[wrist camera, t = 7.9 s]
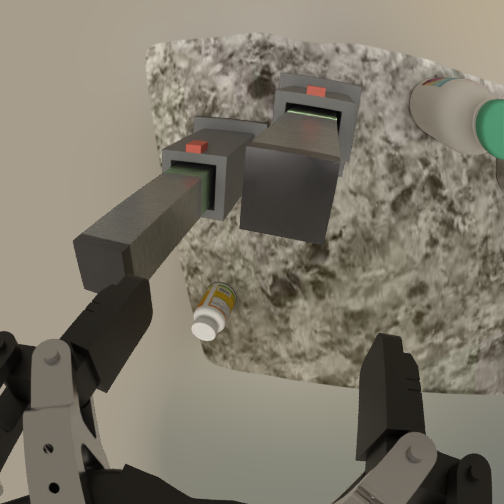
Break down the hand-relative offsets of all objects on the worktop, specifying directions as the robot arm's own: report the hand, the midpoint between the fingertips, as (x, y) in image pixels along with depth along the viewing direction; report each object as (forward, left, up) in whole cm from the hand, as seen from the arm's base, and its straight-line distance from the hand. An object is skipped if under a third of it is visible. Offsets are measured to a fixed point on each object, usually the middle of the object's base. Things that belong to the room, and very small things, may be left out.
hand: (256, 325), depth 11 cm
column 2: (0, -2, -27) cm, 27 cm away
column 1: (+11, +5, -27) cm, 30 cm away
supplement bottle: (+11, +30, -35) cm, 47 cm away
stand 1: (+11, +5, -34) cm, 37 cm away
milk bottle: (-15, -7, -35) cm, 38 cm away
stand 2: (0, -2, -34) cm, 35 cm away
